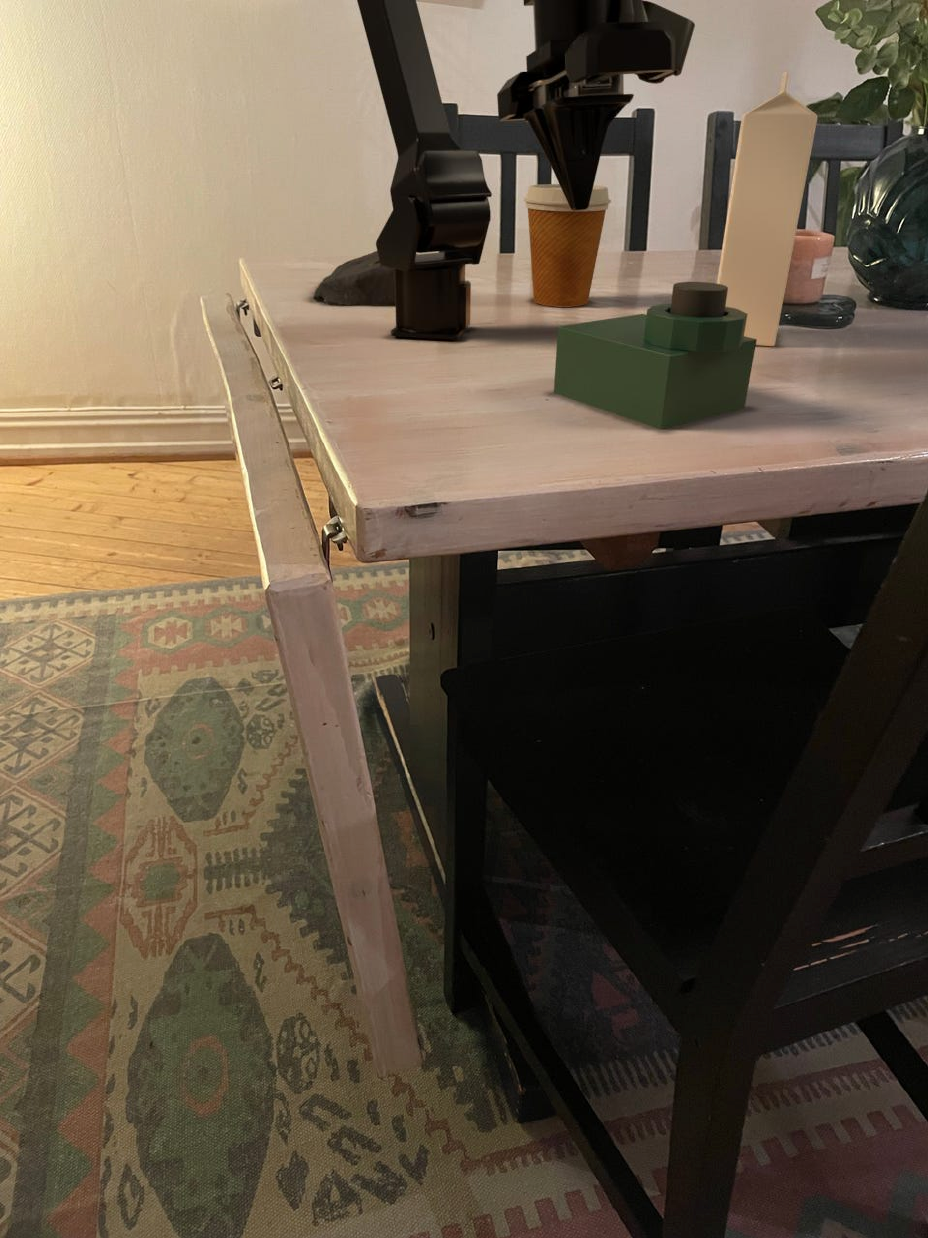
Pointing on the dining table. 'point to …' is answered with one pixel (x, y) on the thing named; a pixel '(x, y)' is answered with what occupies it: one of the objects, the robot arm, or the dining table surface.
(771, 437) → the dining table surface
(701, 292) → the button
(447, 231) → the robot arm
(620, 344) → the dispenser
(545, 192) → the disposable coffee cup
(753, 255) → the milk
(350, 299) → the dark slate chunk
